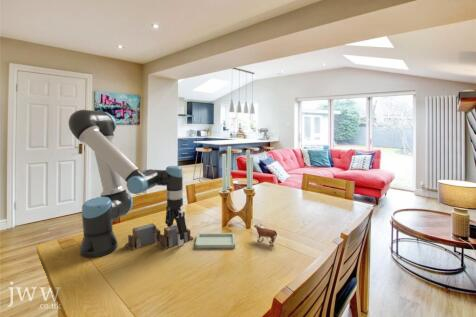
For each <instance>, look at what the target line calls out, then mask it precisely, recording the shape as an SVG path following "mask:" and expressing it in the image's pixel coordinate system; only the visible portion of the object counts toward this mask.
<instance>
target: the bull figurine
mask: <svg viewBox="0 0 476 317" xmlns="http://www.w3.org/2000/svg"><path fill="white" fill-rule="evenodd" d="M262 225H263V224H260V223H258V222H257V223H256V224H255V225H253V227H254V229H255V230H256V232H257V235H258V238H257V240H256V241H257V242H260V241H264V240H265V238H266V240H268V239H269V238H270V240H269V243H270V246H274V243H275V241H276V238H277V236H278V233H277V231H276V230H275V229H274V230H273V229H270V228H266V227H264V226H262Z"/></svg>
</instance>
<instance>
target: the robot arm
mask: <svg viewBox="0 0 476 317" xmlns="http://www.w3.org/2000/svg"><path fill="white" fill-rule="evenodd" d="M68 127H69V130H70V132H71V134H72V135H73V136H74V137H75V138H76V140H78V141H79V142H80V143H83V144H84V143H85V144H86V145H87V146H88V147H89V148H90V150H92V151H93V153H94V155H95V161H96V165H97V169H98V174H99V177H100V183H101V187H102V192H100V196H97V197H95V198H90V199H88V200H86V201H84V203H83V204H82V207H81V218H82V229H83V230H82V231H83V237H82V241H81V244H80V247H79V253H80V256H81V257H83V258H89V259H91V258H92V259H93V258H100V257H103V256H106V255H109V254H111V253H113V252H114V251H116V250H117V248H118V246H119V245H118V240H117V238H116V235H115V233H114V231H113V222H115V220H118V219H119V218H122V217H124V216H126V215H127V214H128V213H129V212H130V211H131V210H132V208H133V206H134V199H133V197H132V195H131V194H133V195H138V194H142V193H144V192H146V191H147V190H149V189H152V188H154V187H156V186H163V187H165V188H166V212H165V213H166V214H165V220H164V222H165V225H166V226H167V227H170V226H174V221H175V223H176V225H177V227H178V231H179V233H178V244H177V246H178V247H181V246H185V245H184V244H185V242H184V233H185V232H187V231H186V228H187V224H186V218H185V215H186V214H185V213H186V212H185V211H182V209H181V208H182V207H183V206H184V198H183V196H184V195H183V194H184V193H183V191H184V190H183V189H184V188H183V180H184V178H183V168H182V167H181V166H180V165H169V166H167V167H166V168H165V169H152V168H150V169H144V170H143V171H142V170H141V169H139V167H138V166H137V165H136V164H134V163H133V162H132V161H131V160H130V159H129V158H128V157H127V156H126V155H125V154H124V153H123V152H122V151H121V150H120V149H119V148H118V147H117V146H115V145H114V144H113V139H114V137H115V135H114V134H115V133H114V132H115V131H116V129H117V121H116V119H115V118H114V116H113V114H112V115H111V114H110V113H109V112H106V111H103V110H90V109H89V110H88V109H79V110H76V111H74V112H73V113H72V114H71V115H70V116H69V118H68ZM121 178H122V179H123V180H124V181H125V182H126V187H127V189H126V188H125V187H123V185H122V182H121V181H122V180H121ZM127 190H128V192H127ZM130 193H131V194H130Z"/></svg>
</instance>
